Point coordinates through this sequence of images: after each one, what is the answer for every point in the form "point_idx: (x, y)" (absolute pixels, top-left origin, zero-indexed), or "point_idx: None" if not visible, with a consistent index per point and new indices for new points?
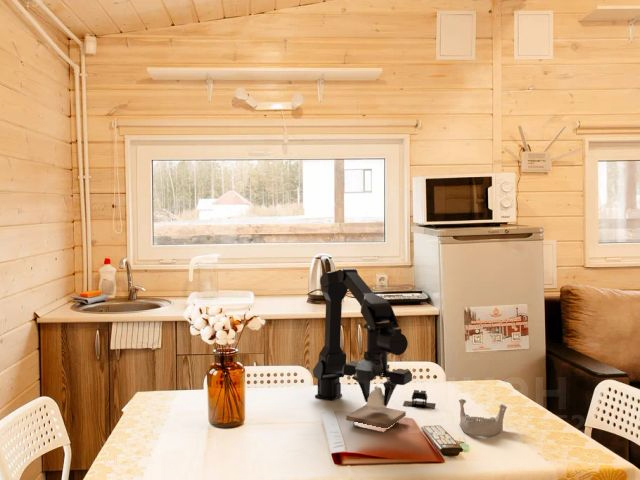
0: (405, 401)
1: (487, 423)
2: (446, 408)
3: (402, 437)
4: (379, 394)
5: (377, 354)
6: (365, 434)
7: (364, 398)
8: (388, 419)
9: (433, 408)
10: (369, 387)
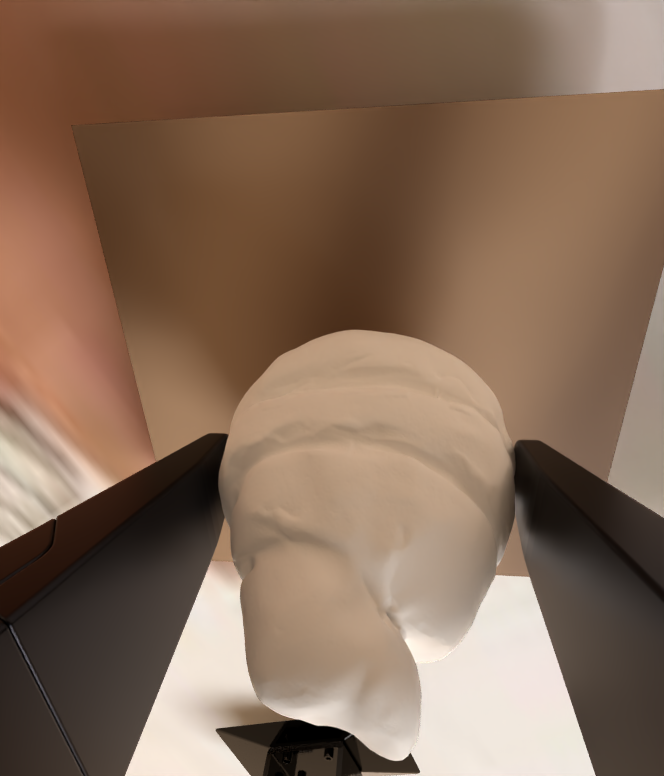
0: (411, 766)
1: None
2: (173, 750)
3: (11, 185)
4: (262, 533)
5: None
6: (321, 5)
7: (572, 461)
8: (158, 294)
9: (222, 732)
10: (582, 713)
